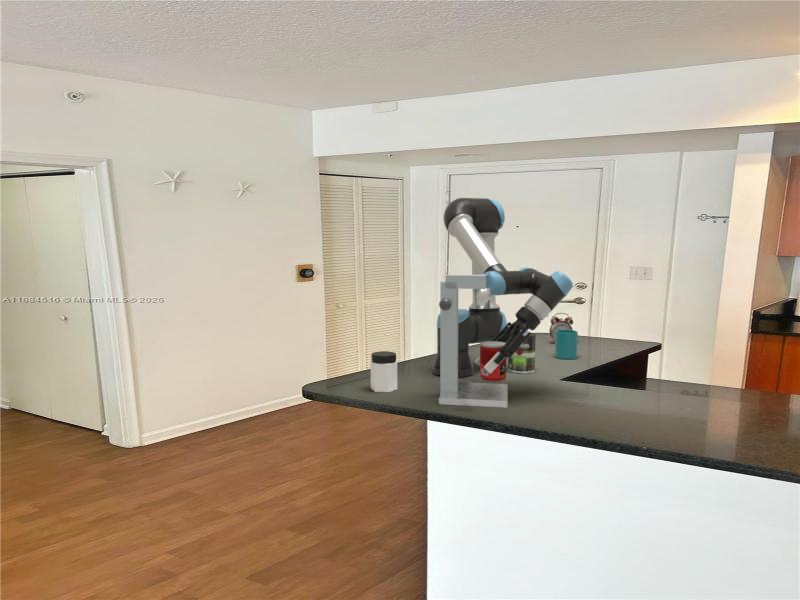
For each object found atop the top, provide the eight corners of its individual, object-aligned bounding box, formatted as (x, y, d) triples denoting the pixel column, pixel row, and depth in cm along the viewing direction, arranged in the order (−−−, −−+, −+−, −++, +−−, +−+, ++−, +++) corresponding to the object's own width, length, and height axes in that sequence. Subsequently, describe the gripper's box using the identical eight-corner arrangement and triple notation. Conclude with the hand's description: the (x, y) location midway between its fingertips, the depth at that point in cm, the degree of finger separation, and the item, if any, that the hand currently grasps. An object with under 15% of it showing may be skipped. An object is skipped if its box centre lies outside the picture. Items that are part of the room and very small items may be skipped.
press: (445, 387, 180) (445, 273, 176) (507, 390, 176) (509, 273, 172) (435, 406, 158) (435, 277, 154) (507, 410, 154) (509, 277, 150)
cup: (586, 357, 228) (586, 331, 227) (567, 360, 222) (568, 333, 220) (568, 353, 236) (569, 328, 235) (550, 357, 229) (550, 330, 228)
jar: (400, 391, 175) (400, 355, 174) (376, 393, 172) (376, 356, 171) (391, 385, 184) (391, 350, 182) (368, 387, 181) (367, 351, 180)
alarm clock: (549, 344, 259) (550, 313, 258) (548, 342, 264) (549, 312, 263) (573, 344, 258) (574, 313, 256) (571, 343, 262) (572, 312, 261)
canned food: (506, 381, 162) (506, 345, 161) (479, 380, 164) (479, 345, 163) (506, 375, 170) (506, 341, 169) (480, 375, 171) (480, 341, 170)
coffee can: (533, 374, 198) (533, 336, 196) (505, 372, 201) (505, 334, 200) (537, 368, 207) (537, 332, 206) (510, 366, 211) (510, 331, 210)
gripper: (555, 326, 158) (502, 383, 157) (526, 317, 178) (480, 368, 177) (538, 308, 156) (485, 366, 155) (511, 302, 177) (464, 353, 175)
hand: (482, 367), depth 166 cm, fingers closed on canned food, 8 cm apart
